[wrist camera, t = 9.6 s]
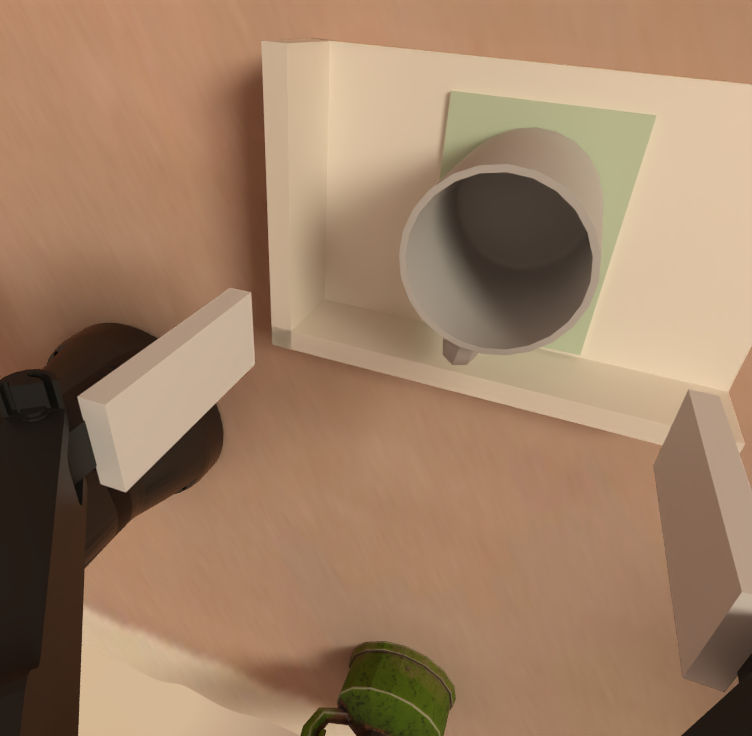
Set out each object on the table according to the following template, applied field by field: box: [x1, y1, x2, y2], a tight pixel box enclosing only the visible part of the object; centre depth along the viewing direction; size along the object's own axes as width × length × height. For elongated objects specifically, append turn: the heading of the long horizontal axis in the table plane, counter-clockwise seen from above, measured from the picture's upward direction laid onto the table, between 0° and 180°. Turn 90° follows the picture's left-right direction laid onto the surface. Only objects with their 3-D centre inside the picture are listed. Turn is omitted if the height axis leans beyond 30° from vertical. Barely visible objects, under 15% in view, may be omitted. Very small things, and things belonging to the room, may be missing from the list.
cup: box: [399, 127, 604, 365], centre depth 25 cm, size 7×10×9 cm
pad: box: [439, 91, 656, 355], centre depth 28 cm, size 9×12×1 cm
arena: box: [261, 39, 752, 454], centre depth 27 cm, size 24×15×5 cm, turn 86°
